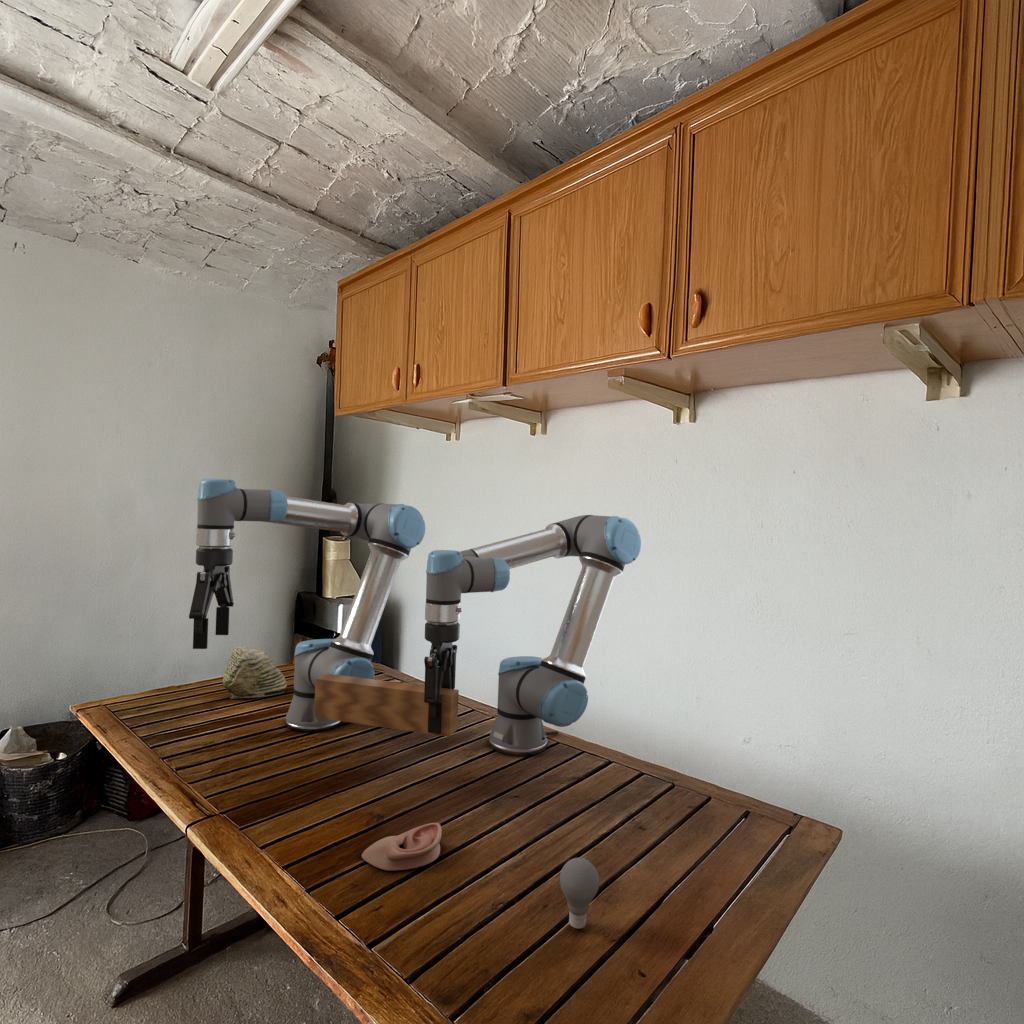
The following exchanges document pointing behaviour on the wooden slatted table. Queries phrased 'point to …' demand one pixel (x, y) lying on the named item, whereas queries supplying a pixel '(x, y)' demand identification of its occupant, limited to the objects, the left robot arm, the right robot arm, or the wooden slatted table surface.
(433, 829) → the anatomical model
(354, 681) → the bar
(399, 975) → the wooden slatted table surface
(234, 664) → the fossil
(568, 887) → the light bulb
